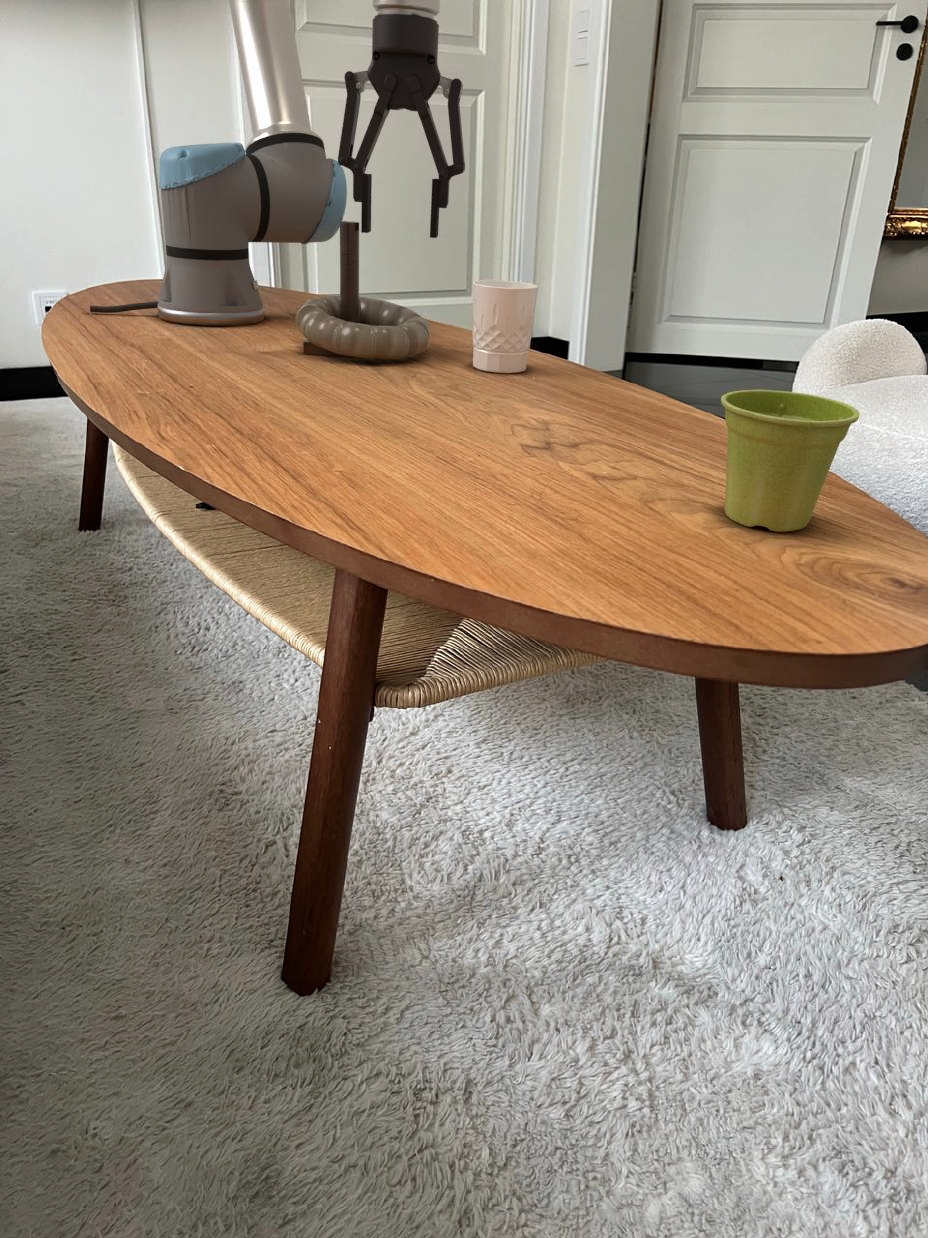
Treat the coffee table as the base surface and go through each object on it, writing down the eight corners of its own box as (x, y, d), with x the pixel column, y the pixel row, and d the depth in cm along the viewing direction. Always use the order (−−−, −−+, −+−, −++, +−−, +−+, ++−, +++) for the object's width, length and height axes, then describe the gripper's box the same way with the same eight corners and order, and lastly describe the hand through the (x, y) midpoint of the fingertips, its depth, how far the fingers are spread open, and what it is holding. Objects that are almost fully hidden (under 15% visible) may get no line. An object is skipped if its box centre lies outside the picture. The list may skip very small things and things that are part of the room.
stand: (303, 353, 115) (300, 220, 108) (320, 340, 123) (318, 217, 117) (381, 359, 114) (383, 226, 107) (392, 345, 123) (395, 222, 116)
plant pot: (756, 548, 62) (783, 424, 58) (676, 503, 70) (695, 391, 66) (857, 535, 66) (889, 417, 62) (771, 493, 74) (794, 386, 70)
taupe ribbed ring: (283, 349, 110) (285, 315, 107) (310, 314, 124) (312, 284, 122) (421, 372, 110) (426, 340, 108) (432, 335, 125) (436, 306, 123)
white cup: (543, 370, 114) (551, 286, 109) (502, 377, 109) (509, 289, 104) (496, 359, 118) (502, 278, 114) (455, 365, 113) (459, 281, 109)
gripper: (308, 5, 99) (311, 230, 109) (495, 17, 98) (480, 242, 109) (322, 14, 106) (324, 226, 116) (498, 26, 105) (484, 238, 115)
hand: (400, 234), depth 112 cm, fingers open, 8 cm apart
